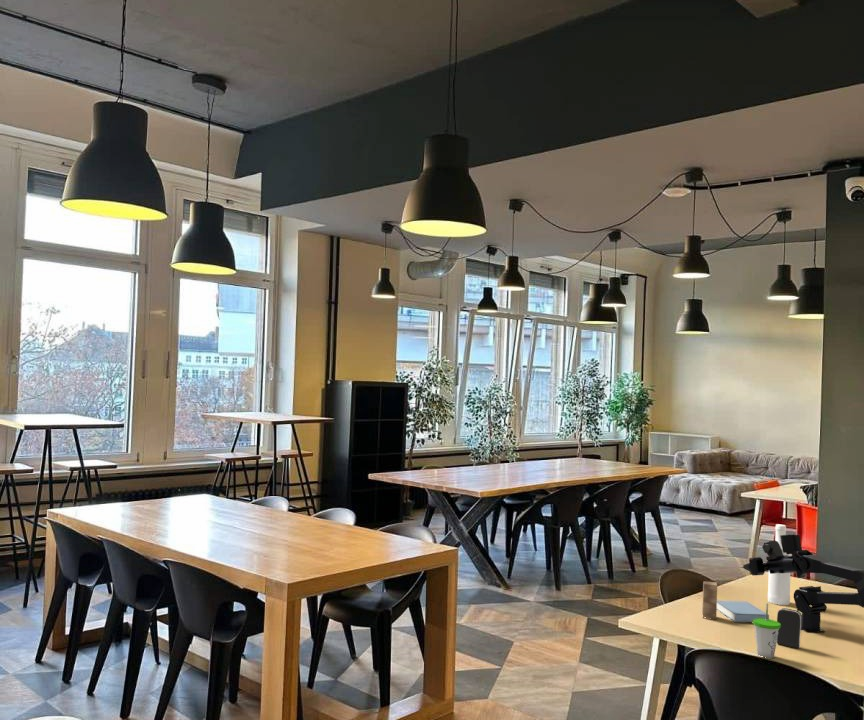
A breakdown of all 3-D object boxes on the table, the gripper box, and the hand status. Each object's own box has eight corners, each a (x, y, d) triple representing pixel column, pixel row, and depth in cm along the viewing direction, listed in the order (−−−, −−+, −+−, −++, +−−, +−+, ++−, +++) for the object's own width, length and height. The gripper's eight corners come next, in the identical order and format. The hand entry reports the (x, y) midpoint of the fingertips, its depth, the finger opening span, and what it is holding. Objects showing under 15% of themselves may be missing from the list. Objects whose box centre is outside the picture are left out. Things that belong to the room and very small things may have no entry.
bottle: (768, 604, 298) (771, 525, 299) (766, 599, 305) (768, 522, 306) (791, 606, 295) (793, 527, 297) (788, 601, 303) (790, 524, 304)
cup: (770, 662, 230) (772, 611, 231) (746, 654, 237) (748, 604, 237) (784, 658, 235) (786, 608, 235) (760, 650, 241) (762, 601, 242)
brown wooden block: (715, 616, 277) (716, 582, 278) (716, 619, 273) (717, 585, 273) (702, 614, 278) (703, 581, 279) (702, 618, 274) (703, 583, 275)
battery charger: (802, 646, 247) (803, 610, 247) (799, 649, 244) (800, 612, 244) (778, 641, 251) (780, 606, 251) (775, 644, 248) (776, 608, 248)
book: (768, 623, 271) (769, 614, 271) (735, 622, 271) (735, 613, 271) (746, 609, 288) (746, 601, 288) (715, 608, 287) (715, 600, 288)
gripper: (801, 540, 282) (766, 542, 296) (764, 542, 274) (730, 545, 288) (806, 572, 279) (771, 573, 293) (770, 575, 271) (735, 576, 285)
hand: (752, 566), depth 289 cm, fingers open, 9 cm apart
